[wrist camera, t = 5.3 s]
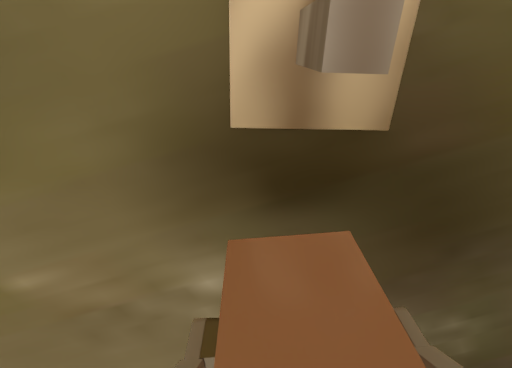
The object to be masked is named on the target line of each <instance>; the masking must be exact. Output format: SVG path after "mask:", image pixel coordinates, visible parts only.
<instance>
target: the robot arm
mask: <svg viewBox="0 0 512 368" xmlns="http://www.w3.org/2000/svg"><path fill="white" fill-rule="evenodd" d="M393 309H394V311H395V313H396V315H397V316H398V318H399V320H400V322H401V324H402V325H403V327H404V329H405V331H406V333H407V334H408V336H409V338H410V340H411V342H412V343H413V345H414V347H415V349H416V350H417V352H418V354H419V356H420V358H421V359H422V361H423V363H424V365H425V367H426V368H464V367H463V366H461V365H460V364H458V363H457V362H456V361H454V360H453V359H452V358H450V357H449V356H447V355H446V354H445V353H443V352H442V351H440V350H439V349H438V348H436V347H435V346H430V345H429V343H428V342H427V340H426V339H425V337H424V335H423V334H422V332H421V331H420V329H419V327H418V326H417V324H416V323H415V321H414V319H413V318H412V316H411V315H410V313H409V311H408V310H407V309H406V308H405V307H395V308H393ZM218 326H219V318H198V319H194V320H193V322H192V325H191V330H190V334H189V339H188V344H187V348H186V353H185V358H184V360H180V361H179V362H178V363H177V365H176V366H175V367H174V368H214V362H215V353H216V344H217V335H218Z"/></svg>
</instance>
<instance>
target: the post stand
mask: <svg viewBox="0 0 512 368" xmlns="http://www.w3.org/2000/svg"><path fill="white" fill-rule="evenodd" d="M419 3H420V0H229V37H230V125H231V128H276V129H335V130H389V126H390V122H391V118H392V114H393V110H394V106H395V102H396V98H397V94H398V90H399V85H400V81H401V77H402V73H403V69H404V65H405V61H406V57H407V53H408V49H409V44H410V40H411V36H412V32H413V28H414V24H415V20H416V16H417V12H418V7H419Z"/></svg>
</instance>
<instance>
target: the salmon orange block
mask: <svg viewBox="0 0 512 368" xmlns="http://www.w3.org/2000/svg"><path fill="white" fill-rule="evenodd" d="M214 368H426V367H425V365H424V363H423V361H422V359H421V358H420V356H419V354H418V352H417V350H416V349H415V347H414V345H413V343H412V342H411V340H410V338H409V336H408V334H407V333H406V331H405V329H404V327H403V325H402V324H401V322H400V320H399V318H398V316H397V315H396V313H395V311H394V309H393V308H392V306H391V304H390V302H389V300H388V299H387V297H386V295H385V293H384V291H383V290H382V288H381V286H380V284H379V282H378V281H377V279H376V277H375V275H374V274H373V272H372V270H371V268H370V266H369V265H368V263H367V261H366V259H365V257H364V256H363V254H362V252H361V250H360V248H359V247H358V245H357V243H356V241H355V240H354V238H353V236H352V234H351V232H350V231H341V232H328V233H315V234H301V235H288V236H275V237H262V238H249V239H236V240H228V246H227V254H226V263H225V272H224V281H223V290H222V299H221V308H220V317H219V326H218V335H217V344H216V353H215V362H214Z"/></svg>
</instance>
